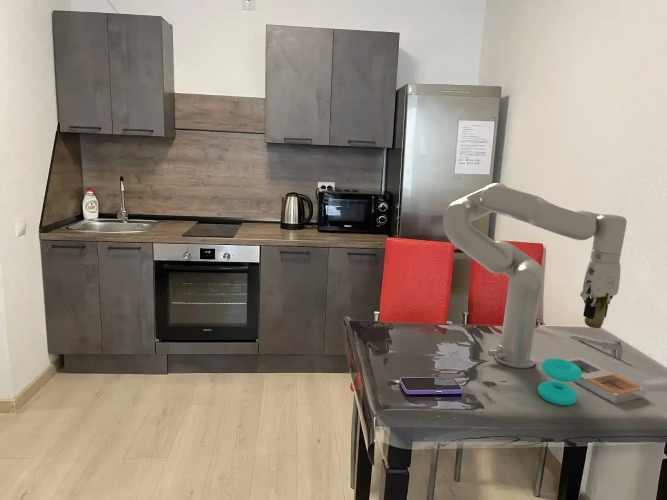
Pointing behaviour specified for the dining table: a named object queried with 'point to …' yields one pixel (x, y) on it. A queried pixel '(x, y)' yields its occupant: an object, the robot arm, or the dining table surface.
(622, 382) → the orange and grey tray
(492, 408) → the dining table surface
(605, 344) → the caliper
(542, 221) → the robot arm
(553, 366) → the donuts
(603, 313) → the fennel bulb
